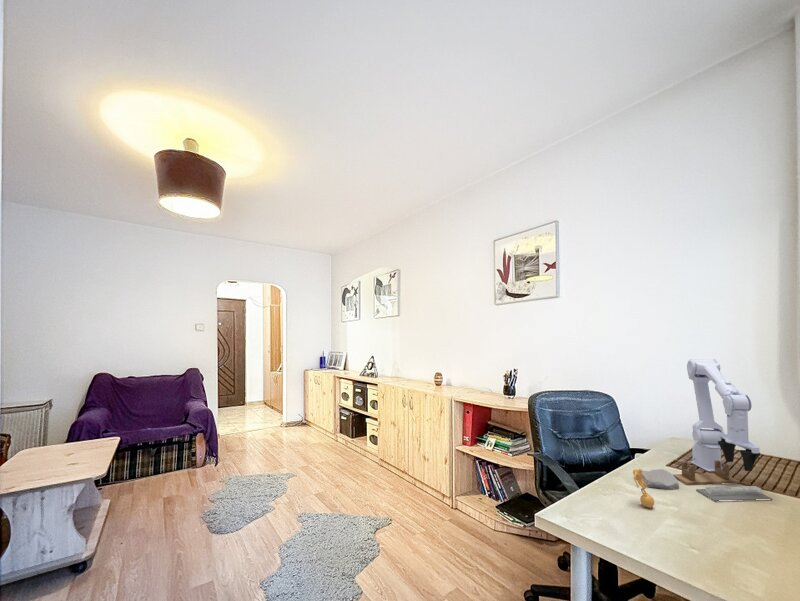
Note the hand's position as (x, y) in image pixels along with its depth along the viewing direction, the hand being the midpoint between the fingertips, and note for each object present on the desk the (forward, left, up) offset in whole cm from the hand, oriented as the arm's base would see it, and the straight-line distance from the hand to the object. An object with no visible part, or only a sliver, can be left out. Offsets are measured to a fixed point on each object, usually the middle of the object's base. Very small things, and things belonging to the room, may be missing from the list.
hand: (738, 465), depth 139 cm
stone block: (-7, -25, -9) cm, 27 cm away
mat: (+3, -5, -9) cm, 11 cm away
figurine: (+8, -40, -9) cm, 42 cm away
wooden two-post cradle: (-9, -5, -9) cm, 14 cm away
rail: (+3, -5, -8) cm, 10 cm away
